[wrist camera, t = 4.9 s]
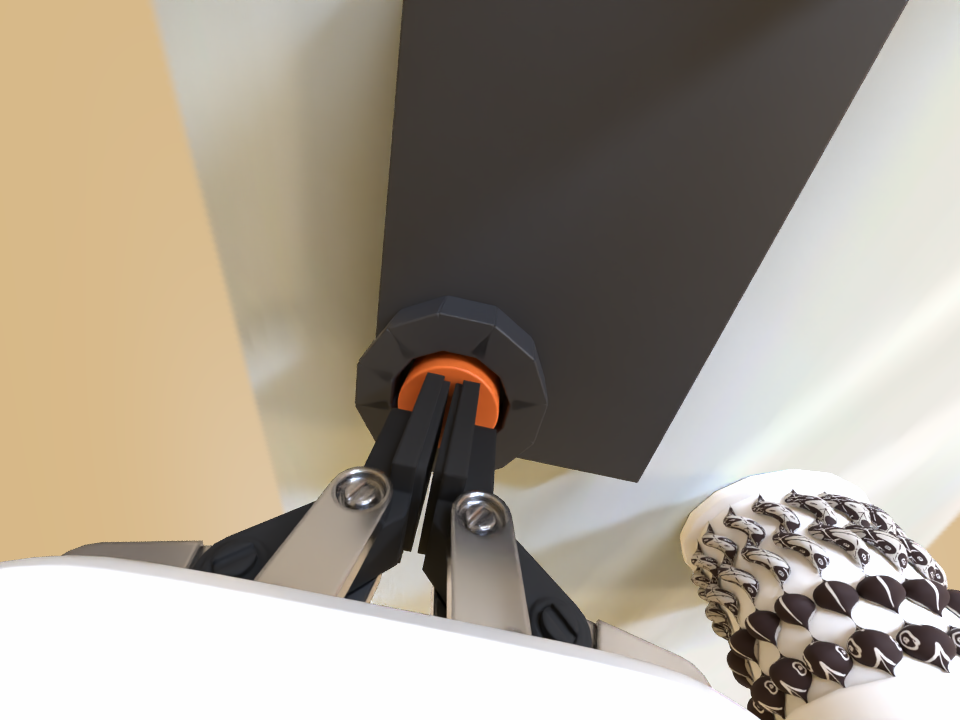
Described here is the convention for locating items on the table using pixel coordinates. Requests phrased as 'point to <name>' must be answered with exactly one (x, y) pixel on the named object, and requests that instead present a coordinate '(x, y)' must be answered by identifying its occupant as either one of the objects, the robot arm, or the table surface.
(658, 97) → the scale
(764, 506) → the decorative candle
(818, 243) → the table surface
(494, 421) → the tare button
